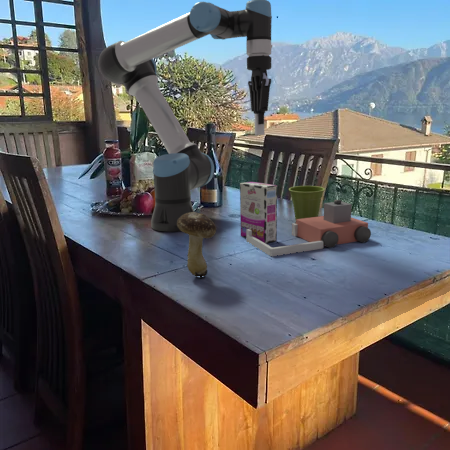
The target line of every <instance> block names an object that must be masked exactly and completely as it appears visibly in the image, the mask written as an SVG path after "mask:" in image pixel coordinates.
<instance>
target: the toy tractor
mask: <svg viewBox="0 0 450 450" xmlns="http://www.w3.org/2000/svg"><path fill="white" fill-rule="evenodd" d="M352 206H353V205H352V203H349V202H345V201H342V199H334V201H331V202H324V203H323V215H321V216H319V215H318V217H311V218H303V219H296V220H295V221H294V223H291V236H294V237H297V238H300V239H302V240H304V241H306V242H304V243H303V242H302V243H297V244H295V243H294V244H288V245H282V246H281V245H280V246H276V247H272V246H270V245H269V244H268V243H264V242H262V241H260V240H258V239H257V238H255V237H253V236H252V230H250V229H246V238H245V240H246V242H247V243H248V242H249V244H250V243H251V244H252V246H253V245H254V246H253V247H255V248H256V247H257V248H256V249H258V248H259V249H260V251H261V250H262V251H261V252H262V253H264V252H265V254H266V255H268V256H269V255H270V256H269V257H271V256H272V257H277V255H278V256H283V254H285V255H289V254H290V253H291V254H297V253H296V252H298V253H303V251H304V252H309V251H316V250H322V249H324V247H327V248H334V247H336V246H337V245H342V244H348V243H355V242H360V243H367V242H368V241H369V240H371V239H370V238H371V237H372V232H371V229H370V228H369V222H367V221H363V220H360V219H357V218H355V217H352ZM251 244H250V245H251ZM259 249H258V250H259Z"/></svg>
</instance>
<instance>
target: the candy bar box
mask: <svg viewBox="0 0 450 450" xmlns="http://www.w3.org/2000/svg"><path fill="white" fill-rule="evenodd" d="M239 195H240V196H239V199H240V200H239V201H240V202H239V207H240V209H239V210H240V212H239V215H240V237H241V236H242V238H245V239H246V229H250V230H252V236H253V237H255V238H257V239H258V240H260V241H262V242H264V243H265V244H270V243H273V242H274V243H275V242H276V241H277V239H278V238H277V235H278V233H277V229H278V227H277V226H278V224H277V223H278V212H277V211H278V185H276V184H269V183H263V182H255V181H247V182H246V181H245V182H240V183H239Z"/></svg>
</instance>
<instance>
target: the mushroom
mask: <svg viewBox="0 0 450 450" xmlns="http://www.w3.org/2000/svg"><path fill="white" fill-rule="evenodd" d="M177 226H178V228H179V229H180V230H181V231H180V232H182V233H184V234H186V235H188V250H187V254H186V256H187V265H186V266H187V269H188V271H189V273H191V274H192V276H194V277H195V276H200V277H202V276H205V275H207V274H208V264H207V262H206V259H205V257H204V255H203V240H204V239H211V238H212V237H214V236H215V234H216V232H217V226H216V224H215V223H214V221H213V220H212V219H211V218H210V217H209V216H207V215H206V214H204V213H200V212H195V211H194V212H190V213H186V214H184V215H182V216H181V217H180V218H179V219H178V221H177Z"/></svg>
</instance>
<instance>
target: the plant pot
mask: <svg viewBox="0 0 450 450" xmlns="http://www.w3.org/2000/svg"><path fill="white" fill-rule="evenodd" d="M325 190H326V188H325V187H322V186H320V185H319V186H317V185H298V186H291V187H289V188H288V191H289V192H290V197H291V200H292V205H293V213H294V219H295V220H294V221H296V219H303V218H311V217H319V213H320V207H321V201H322V197H323V194H324V191H325Z"/></svg>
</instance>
